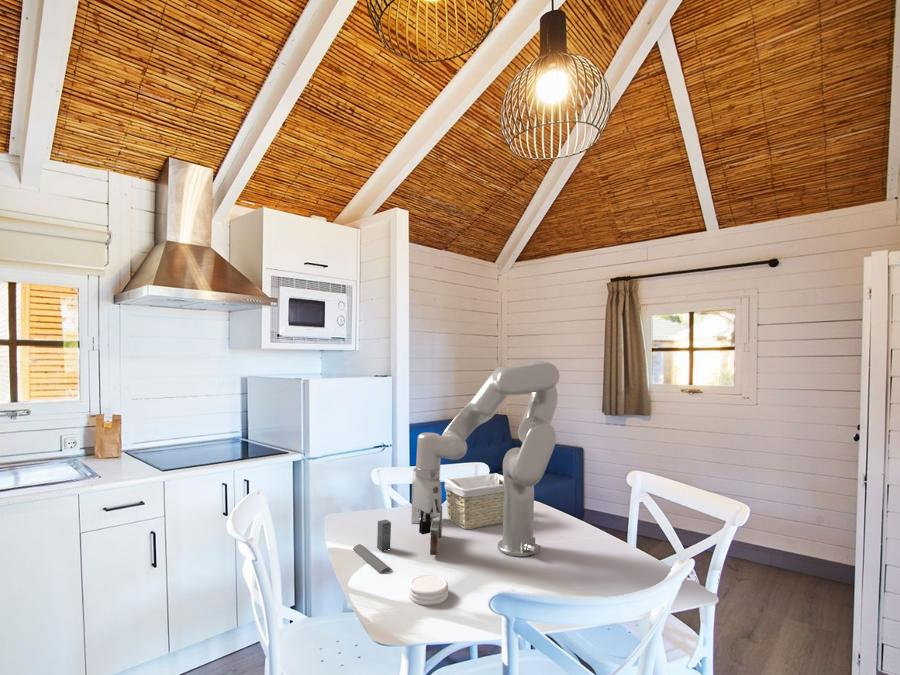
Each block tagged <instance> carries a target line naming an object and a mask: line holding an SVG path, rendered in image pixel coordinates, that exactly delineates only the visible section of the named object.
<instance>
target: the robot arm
mask: <svg viewBox="0 0 900 675" xmlns="http://www.w3.org/2000/svg"><path fill="white" fill-rule="evenodd" d="M559 381H560V371H559V369H558V368H557V366H556V365H554V364H553V363H552V362H548V361H543V360H542V361H540V360H535V361H534V360H533V361H530V362H528V364H527V365H523V366H514V367H513V366H512V367H509V366H501V367H500V366H499V367H497V368H496V369H495V370H494V371H493V372H491V374H490V375H489V377H488V378H487V379H486V381H484V383H483V384H482V385H481V387H480V388H479V390H478V391H477V392H476V393H475V395H474V396H473V397H472V398H471V400H470V401H469V402H468V403H467V404H466V405H465V406H464V407H463V408H462V409H461V410H460V411H459V413H458V414H456V416H455V417H454V418H453V420H452V421H451V422H450V423H449V424H448V425H447V427H446V428H445V429H444V431H443V433H442V434H439V433H436V432H422V433H420V434H418V436H417V443H416V444H417V445H416V458H415V460H416V464H415V468H416V479H415V485H414V494H413V504H414V506H415V508H416V510H417V511H418V512H419V519H421V520H420V523H418V525H419V528H418V529H419V530H418V533H419V534H421V535H426V534H431V527H432V522H433V518H437V512H441V508H442V509H443V506H442V504H443V502H442V500H443V499H442V498H443V496H442V482H441V478H440V477H441V476H440V475H441V459H447V460H453V461H455V460H460V459H462V458H463V457H465V456H466V453H467V451H468V445H467V439H468V438H469V436H470V435H471V434H472V433H473V431H474V430H475V429H477V427H479V426H480V425H482V424H484V423H486V422H489V421H490V419H492V418H493V417H494V415H495V414H496V413H497V412H498V410H499V409H500V407H501V406H502V405H503V404H504V403H505V401H506V400H507V399H508V398H509V397H510V396H511V397H512V396H520V395H527V394H530V399H529V403H528V405H527V408H526V411H525V413H524V415H523V417H522V420H521V421H520V425H519V427H518V430H517V437H518V439H519V440H520V442H521V443H522V444H521V446H520V447H512V448H510V449H509V450H508V451H506V453H505V455H504V457H503V461H502V474H503V477H504V506H503V523H502V539H501V540H500V541H498V542H497V549H498V551H500V552H501V553H502V554H505V555H508V556H511V557H529V555H531V556H533V554H534V555H536V554H538V552H539V550H540V549H541V545H540V544H538V543H536V537H535V536H534V514H535V513H534V511H535V510H534V506H535V505H534V503H535V502H534V500H535V487H534V486H535V485H537V484H539V482H540V480H542V477H543V476H544V474H545V472H546V470H547V467H548V464H549V462H550V459H551V457H552V454H553V451H554V450H555V446H556V441H557V433H556V431H555V429H554V427H553V426H552V425H551V423H552V420H553V417H554V415H555V411H556V408H557V405H558V400H559V398H558V389H557V387H556V386H557V384H558V382H559ZM436 511H437V512H436Z"/></svg>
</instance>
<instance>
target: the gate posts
mask: <svg viewBox="0 0 900 675" xmlns="http://www.w3.org/2000/svg"><path fill="white" fill-rule="evenodd" d="M436 512H437V511H436ZM437 513H440V524H439V539H441V538H442V537H443V536H442V533H443V531H442V530H443V507H442V508H441V512H437ZM391 528H392V522H391V521H389V519H381V520H377V534H376V535H377V536H376V539H377V541H376V542H377V544H376V545H377V546H376V548H378V549H379V550H378V549H377V550H378V551H380V550H381V551H383V552H385V551H384V550H388V549H390V550H391V540H392V539H391V537H392V536H391V535H392V534H391V531H392V529H391ZM381 551H380V552H381ZM388 551H389V550H388Z"/></svg>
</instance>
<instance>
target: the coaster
mask: <svg viewBox="0 0 900 675" xmlns="http://www.w3.org/2000/svg"><path fill="white" fill-rule="evenodd" d="M408 584H409V585H408V586H409V588H408V597H409V599H410V600H411V601H412V602H413V603H414V604H418V605H419V606H420V605H421V606H436V605H440V604H442V603H444V602H446V600H447V599H448V597H449V593H448V592H449V582H448V581H447V580H446V579H445V578H444V577H442V576H439V575H435V574H420V575H418V576H414V577H413V578H412V579H411V580H410V581H409V583H408Z"/></svg>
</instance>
